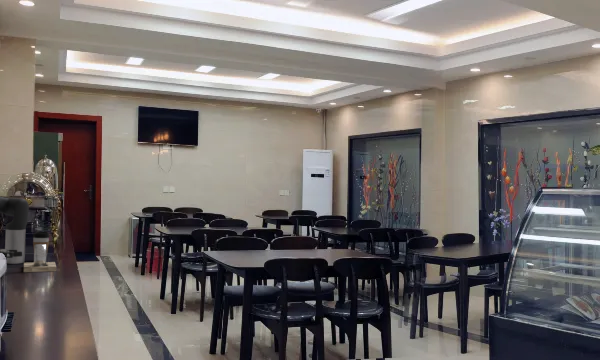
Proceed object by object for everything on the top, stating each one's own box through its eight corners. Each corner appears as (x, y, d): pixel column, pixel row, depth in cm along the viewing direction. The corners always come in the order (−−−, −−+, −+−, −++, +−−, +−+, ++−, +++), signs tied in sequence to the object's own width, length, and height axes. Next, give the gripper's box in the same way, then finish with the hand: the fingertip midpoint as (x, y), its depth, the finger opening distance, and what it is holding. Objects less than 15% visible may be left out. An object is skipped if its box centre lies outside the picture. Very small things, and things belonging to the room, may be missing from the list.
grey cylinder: (35, 270, 273) (36, 245, 273) (32, 269, 277) (33, 244, 277) (47, 269, 276) (48, 245, 277) (44, 268, 280) (45, 244, 281)
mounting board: (23, 266, 284) (24, 262, 284) (54, 266, 290) (54, 262, 290) (23, 272, 267) (23, 267, 267) (56, 271, 273) (56, 267, 273)
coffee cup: (51, 259, 312) (52, 232, 313) (43, 261, 304) (44, 233, 304) (37, 259, 313) (38, 231, 313) (28, 260, 305) (29, 232, 305)
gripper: (-16, 247, 255) (24, 246, 265) (-23, 244, 266) (15, 243, 276) (-16, 264, 255) (23, 262, 265) (-23, 261, 265) (15, 259, 276)
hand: (19, 252), depth 271 cm, fingers open, 8 cm apart
